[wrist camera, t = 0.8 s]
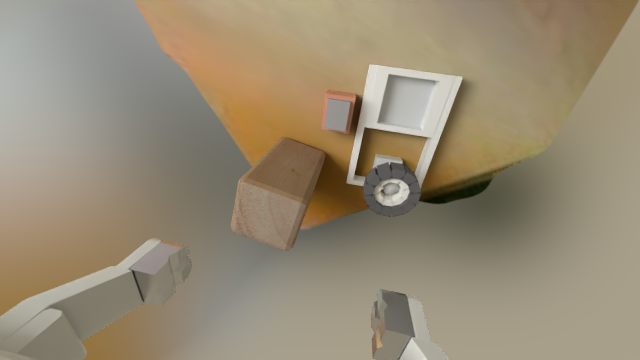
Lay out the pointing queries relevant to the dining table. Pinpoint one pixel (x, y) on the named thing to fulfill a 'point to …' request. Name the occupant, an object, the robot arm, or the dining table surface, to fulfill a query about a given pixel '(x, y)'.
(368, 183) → the wheel
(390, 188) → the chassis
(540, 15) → the dining table surface
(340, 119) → the two-tone grey-capped cube
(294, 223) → the wooden block
